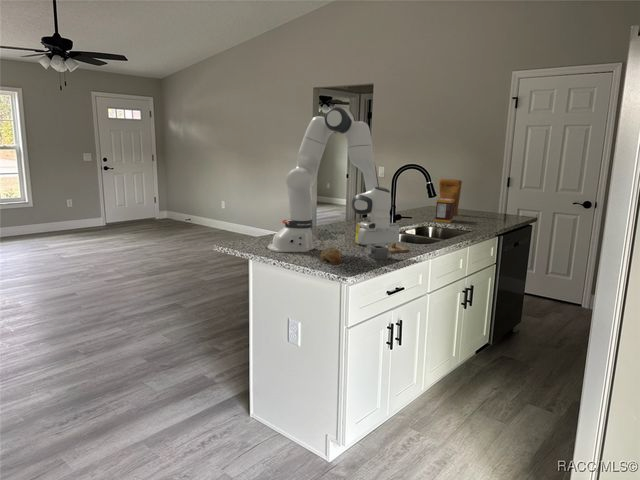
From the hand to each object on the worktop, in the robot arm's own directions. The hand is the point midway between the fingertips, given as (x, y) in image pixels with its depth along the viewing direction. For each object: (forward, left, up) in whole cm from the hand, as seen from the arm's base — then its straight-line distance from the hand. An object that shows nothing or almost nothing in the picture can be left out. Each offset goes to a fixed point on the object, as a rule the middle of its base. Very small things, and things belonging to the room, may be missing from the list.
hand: (378, 253), depth 212 cm
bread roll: (-24, -1, -2) cm, 24 cm away
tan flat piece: (+16, +12, -2) cm, 20 cm away
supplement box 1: (+7, +28, -2) cm, 29 cm away
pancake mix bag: (+129, +113, -2) cm, 172 cm away
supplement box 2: (+106, +88, -2) cm, 138 cm away
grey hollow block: (0, 0, -2) cm, 2 cm away
